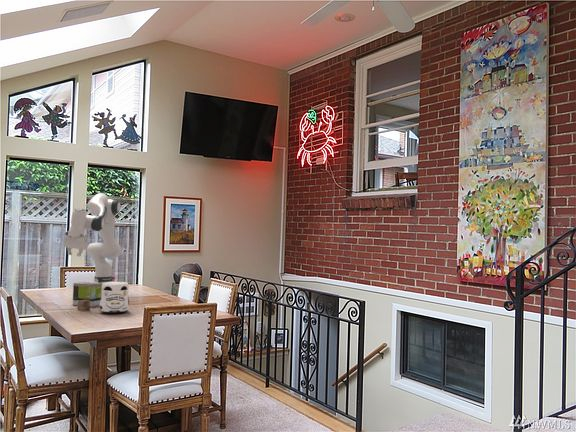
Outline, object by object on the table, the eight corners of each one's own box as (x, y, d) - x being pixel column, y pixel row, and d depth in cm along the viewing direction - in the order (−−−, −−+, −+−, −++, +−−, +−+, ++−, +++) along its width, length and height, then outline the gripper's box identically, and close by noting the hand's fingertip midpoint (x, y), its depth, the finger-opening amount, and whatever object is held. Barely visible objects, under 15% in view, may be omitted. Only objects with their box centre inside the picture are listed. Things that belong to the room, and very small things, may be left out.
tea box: (101, 305, 326) (102, 282, 326) (90, 307, 316) (91, 284, 317) (83, 303, 331) (83, 281, 331) (72, 305, 321) (72, 282, 321)
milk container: (111, 316, 290) (113, 285, 291) (93, 312, 300) (94, 283, 300) (135, 312, 305) (136, 283, 305) (116, 308, 314) (117, 280, 314)
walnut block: (84, 309, 310) (84, 299, 310) (89, 310, 307) (90, 300, 308) (77, 310, 306) (77, 300, 306) (82, 311, 303) (83, 301, 303)
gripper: (91, 235, 310) (88, 257, 309) (71, 233, 321) (69, 254, 320) (82, 234, 305) (80, 257, 304) (63, 232, 316) (60, 254, 315)
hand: (74, 255), depth 312 cm, fingers open, 8 cm apart
